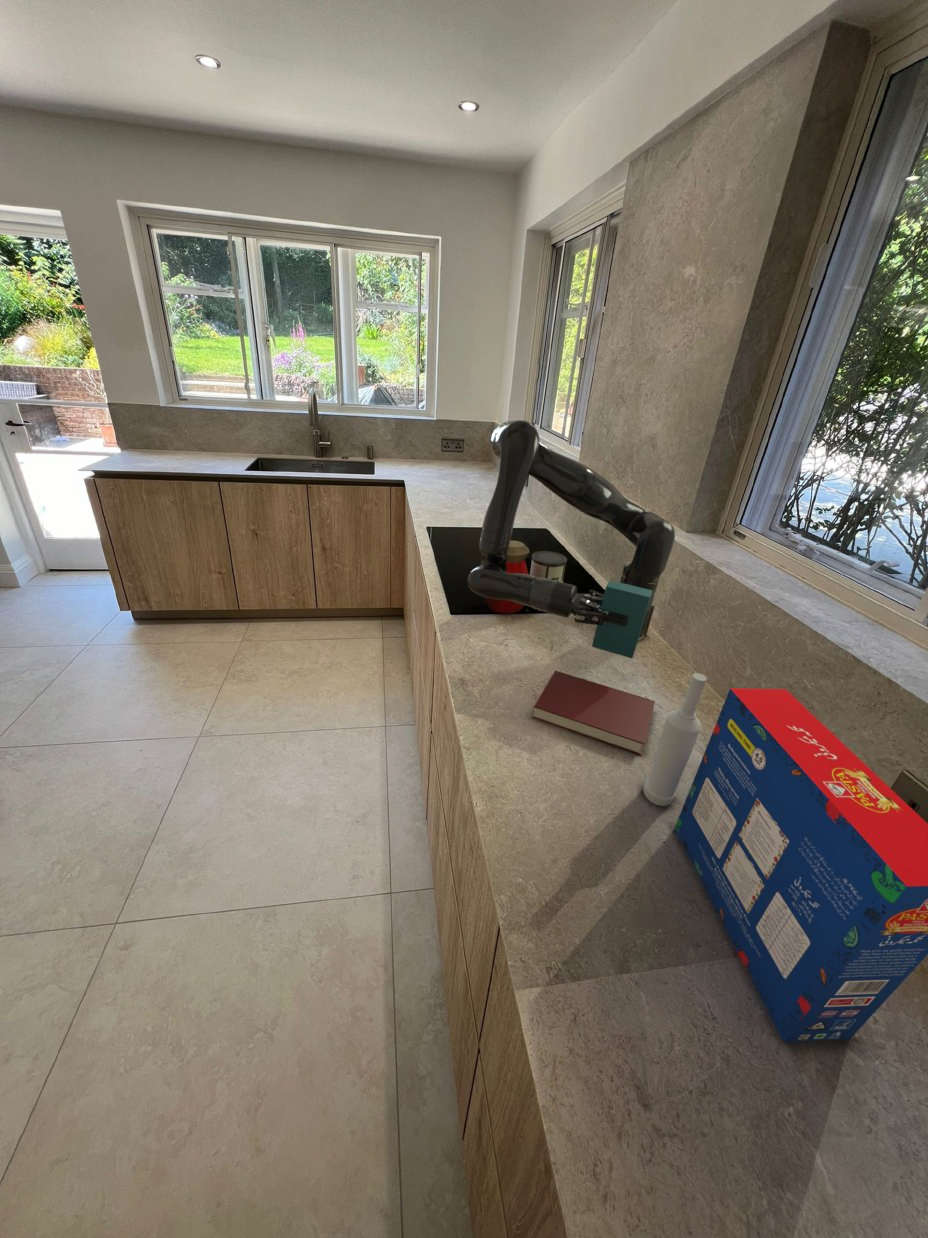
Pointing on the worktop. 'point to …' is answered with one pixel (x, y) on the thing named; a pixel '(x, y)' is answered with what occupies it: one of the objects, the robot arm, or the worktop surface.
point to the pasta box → (806, 865)
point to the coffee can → (548, 565)
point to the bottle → (675, 746)
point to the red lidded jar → (514, 565)
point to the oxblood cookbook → (595, 711)
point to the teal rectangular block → (625, 603)
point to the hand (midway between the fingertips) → (628, 617)
